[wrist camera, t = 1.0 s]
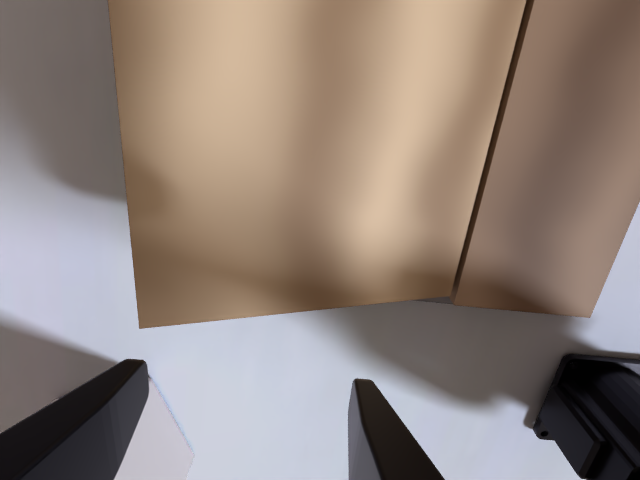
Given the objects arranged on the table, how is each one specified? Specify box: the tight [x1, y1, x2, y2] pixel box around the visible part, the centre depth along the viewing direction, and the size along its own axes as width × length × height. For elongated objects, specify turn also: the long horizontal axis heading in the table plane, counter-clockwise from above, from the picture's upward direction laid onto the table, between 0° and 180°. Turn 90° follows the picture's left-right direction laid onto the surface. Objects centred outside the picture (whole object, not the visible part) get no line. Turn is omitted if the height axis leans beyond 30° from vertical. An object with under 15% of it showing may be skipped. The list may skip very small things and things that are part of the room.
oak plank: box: [108, 0, 526, 329], centre depth 14 cm, size 14×17×2 cm
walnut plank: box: [449, 0, 640, 318], centre depth 16 cm, size 7×18×2 cm, turn 175°
